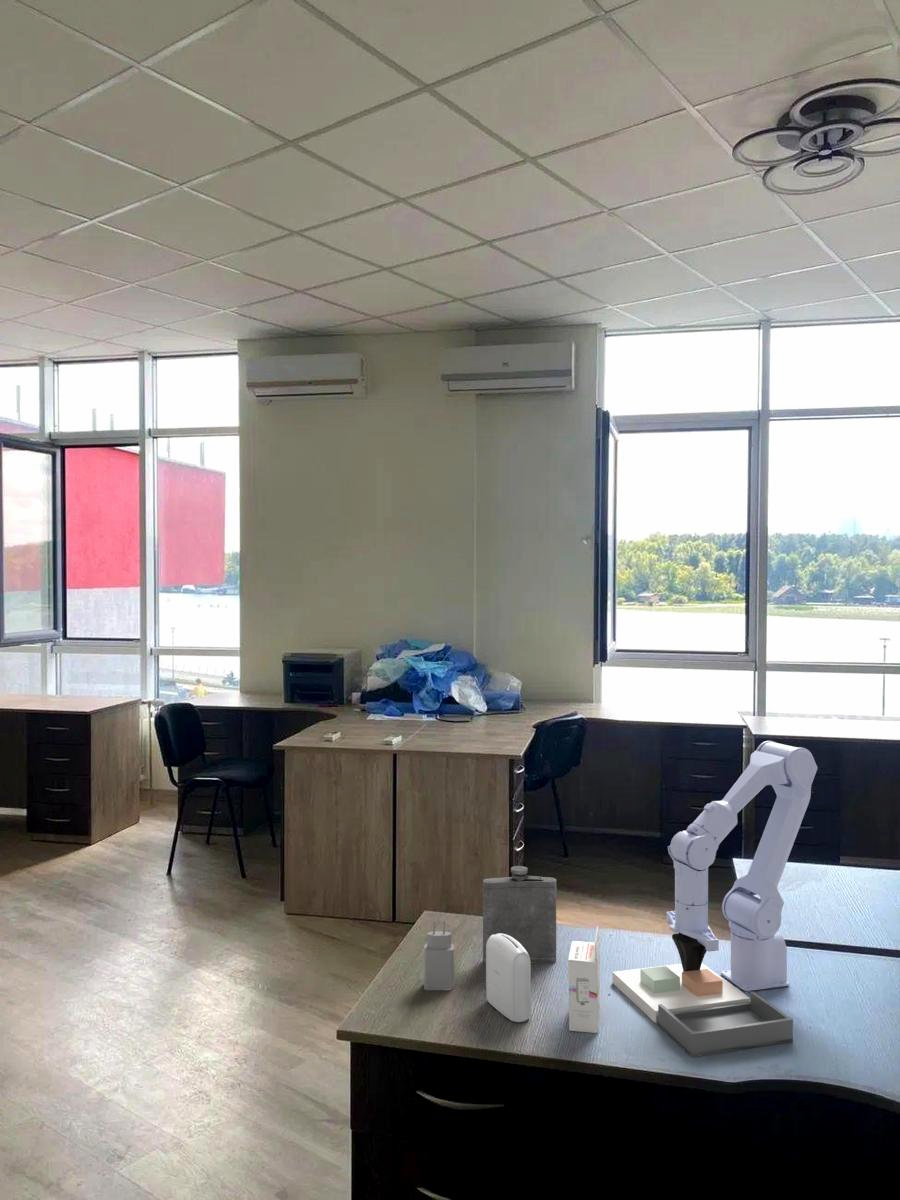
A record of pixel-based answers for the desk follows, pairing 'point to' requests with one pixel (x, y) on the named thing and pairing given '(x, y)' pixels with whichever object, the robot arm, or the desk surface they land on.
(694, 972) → the terracotta tile
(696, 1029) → the box
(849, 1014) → the desk surface
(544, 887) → the flask
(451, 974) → the power adapter
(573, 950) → the ink cartridge box
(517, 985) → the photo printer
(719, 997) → the white board
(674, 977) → the sage-green tile
